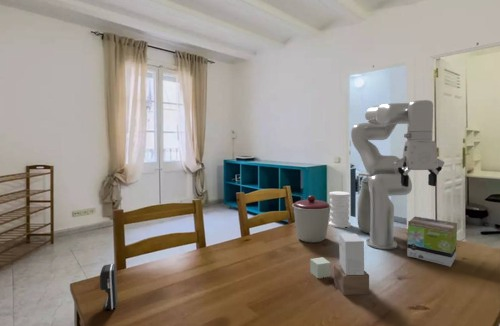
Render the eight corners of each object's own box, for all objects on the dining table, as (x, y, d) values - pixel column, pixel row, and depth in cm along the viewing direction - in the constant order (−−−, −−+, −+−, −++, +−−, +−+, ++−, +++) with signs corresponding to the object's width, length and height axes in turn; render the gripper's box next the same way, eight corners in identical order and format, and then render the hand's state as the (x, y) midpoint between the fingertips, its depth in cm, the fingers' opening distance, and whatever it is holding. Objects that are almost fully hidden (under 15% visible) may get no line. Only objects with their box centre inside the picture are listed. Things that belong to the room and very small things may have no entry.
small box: (364, 275, 88) (364, 241, 88) (345, 275, 89) (345, 241, 88) (356, 264, 96) (356, 233, 96) (339, 264, 97) (339, 233, 96)
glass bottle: (353, 230, 152) (353, 177, 150) (369, 228, 155) (369, 175, 153) (367, 236, 142) (367, 179, 141) (383, 233, 146) (384, 178, 144)
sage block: (310, 272, 104) (310, 259, 104) (322, 270, 106) (322, 257, 106) (317, 278, 100) (317, 264, 99) (330, 276, 101) (330, 262, 101)
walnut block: (334, 283, 97) (334, 265, 96) (357, 281, 97) (357, 264, 97) (343, 295, 89) (343, 276, 88) (369, 294, 89) (369, 275, 89)
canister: (324, 248, 127) (324, 200, 126) (286, 241, 137) (285, 197, 136) (335, 236, 143) (336, 194, 141) (300, 231, 152) (300, 191, 151)
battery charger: (103, 300, 88) (101, 263, 87) (117, 297, 89) (115, 261, 88) (100, 312, 81) (98, 272, 81) (115, 310, 83) (113, 270, 82)
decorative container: (347, 229, 155) (348, 195, 153) (326, 226, 160) (326, 193, 159) (352, 223, 164) (352, 192, 163) (331, 221, 170) (331, 190, 169)
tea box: (406, 257, 117) (407, 220, 116) (413, 250, 124) (414, 215, 123) (451, 267, 106) (453, 227, 105) (456, 259, 114) (457, 221, 113)
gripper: (401, 137, 98) (400, 188, 99) (451, 136, 98) (450, 187, 99) (389, 137, 105) (388, 185, 106) (436, 136, 106) (435, 184, 107)
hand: (418, 185), depth 103 cm, fingers open, 9 cm apart
